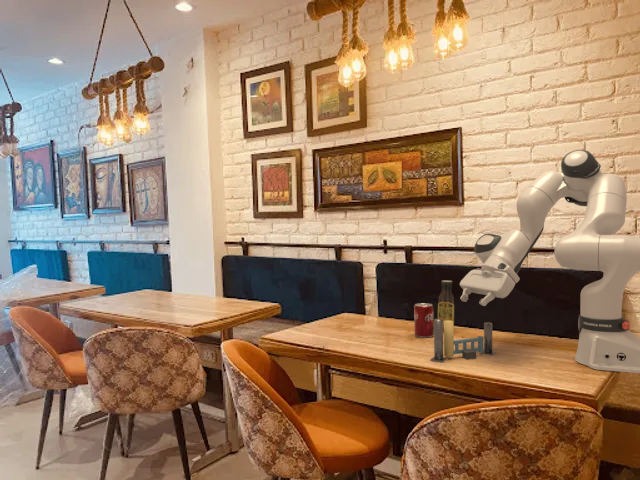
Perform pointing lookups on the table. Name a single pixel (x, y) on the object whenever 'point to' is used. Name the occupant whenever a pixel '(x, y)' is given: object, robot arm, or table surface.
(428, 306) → the soda can
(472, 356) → the block
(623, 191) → the robot arm
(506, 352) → the table surface
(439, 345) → the post
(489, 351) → the hinge post
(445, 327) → the gate
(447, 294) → the sauce bottle
